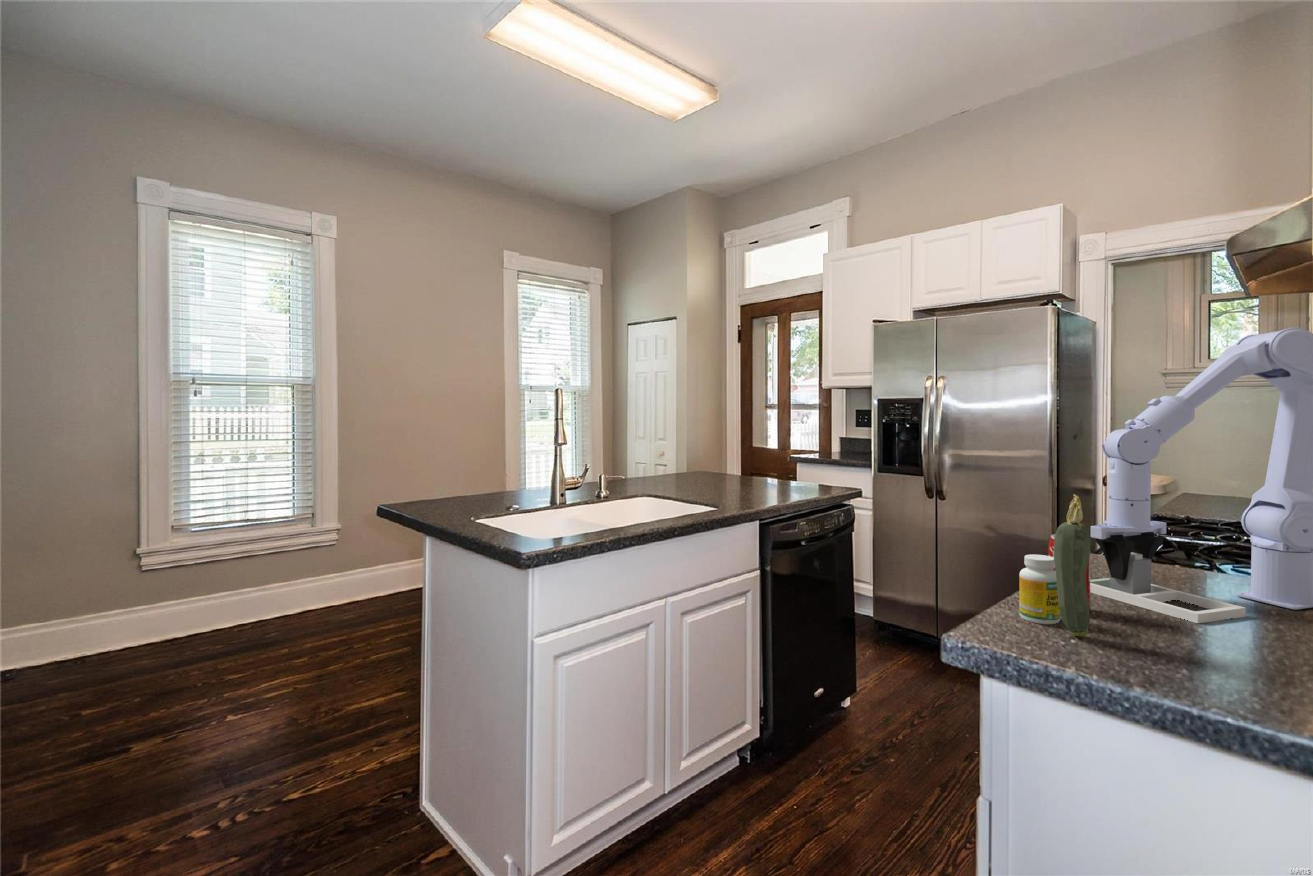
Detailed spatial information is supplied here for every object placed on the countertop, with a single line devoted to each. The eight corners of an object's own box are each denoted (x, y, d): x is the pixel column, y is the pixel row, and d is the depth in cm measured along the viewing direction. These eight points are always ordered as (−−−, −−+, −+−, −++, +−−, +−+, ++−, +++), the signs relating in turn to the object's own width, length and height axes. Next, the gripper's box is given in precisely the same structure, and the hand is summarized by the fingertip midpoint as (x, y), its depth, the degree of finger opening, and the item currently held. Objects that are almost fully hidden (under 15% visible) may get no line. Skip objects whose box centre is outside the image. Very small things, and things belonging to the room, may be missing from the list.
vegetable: (1078, 644, 83) (1080, 498, 82) (1046, 634, 87) (1047, 494, 86) (1096, 638, 85) (1098, 495, 84) (1064, 629, 89) (1065, 492, 88)
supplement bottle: (1029, 611, 97) (1030, 551, 97) (1067, 620, 92) (1067, 557, 92) (1012, 618, 94) (1012, 556, 94) (1050, 627, 89) (1050, 563, 89)
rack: (1121, 584, 111) (1121, 576, 111) (1245, 616, 93) (1245, 607, 93) (1078, 588, 108) (1078, 581, 108) (1197, 623, 90) (1197, 614, 90)
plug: (1126, 588, 107) (1127, 549, 107) (1150, 594, 103) (1151, 554, 103) (1109, 590, 106) (1110, 551, 106) (1132, 596, 102) (1133, 556, 102)
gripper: (1137, 494, 110) (1136, 568, 111) (1074, 498, 106) (1073, 575, 107) (1180, 498, 103) (1178, 578, 104) (1114, 503, 100) (1113, 585, 100)
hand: (1128, 577), depth 105 cm, fingers closed on plug, 4 cm apart
